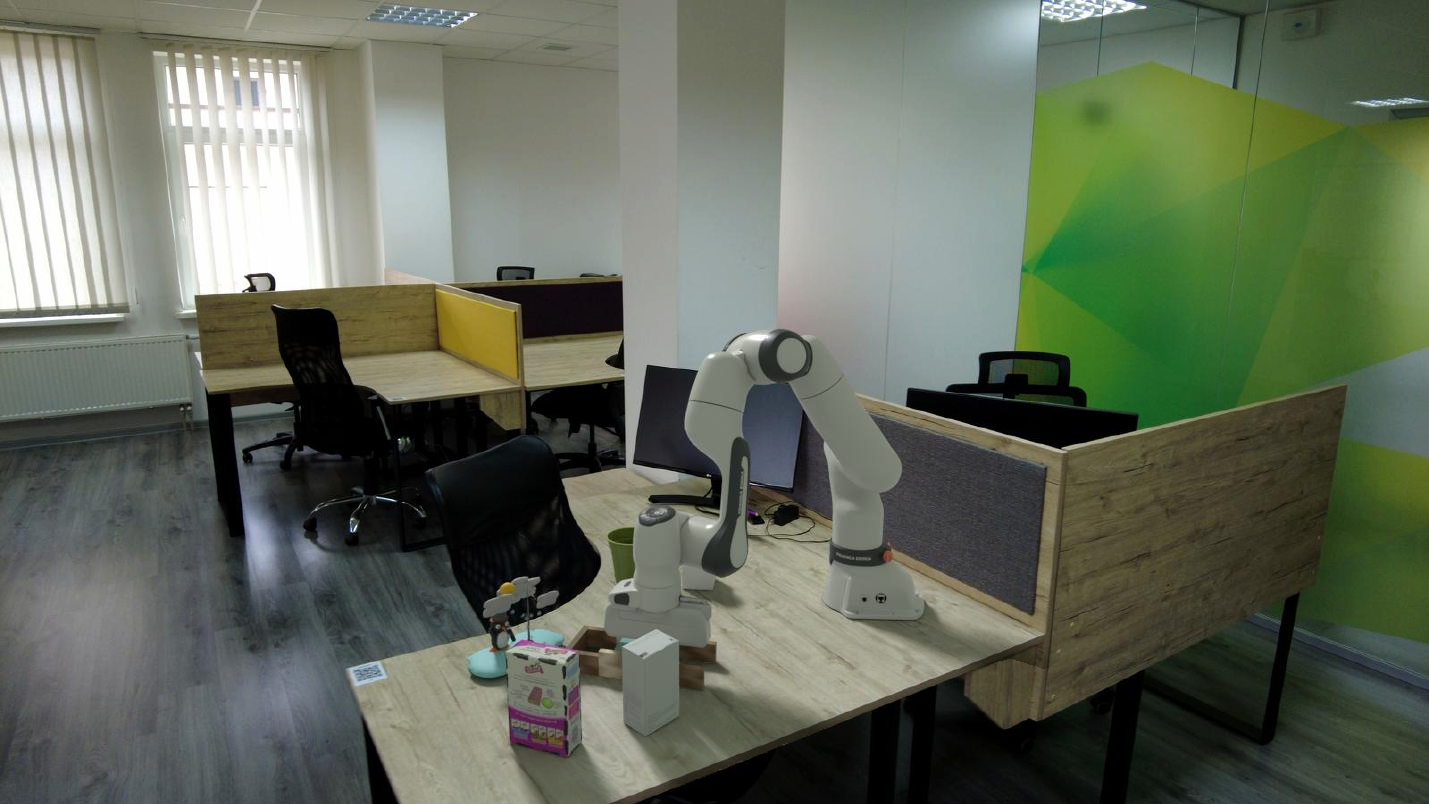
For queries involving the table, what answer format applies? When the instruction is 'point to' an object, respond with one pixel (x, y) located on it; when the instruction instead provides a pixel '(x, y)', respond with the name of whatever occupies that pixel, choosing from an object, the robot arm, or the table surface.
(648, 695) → the skincare box
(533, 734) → the candy bar box
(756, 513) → the wizard figurine
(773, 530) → the table surface
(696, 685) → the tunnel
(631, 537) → the plant pot
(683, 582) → the medicine bottle
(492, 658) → the penguin figurine
